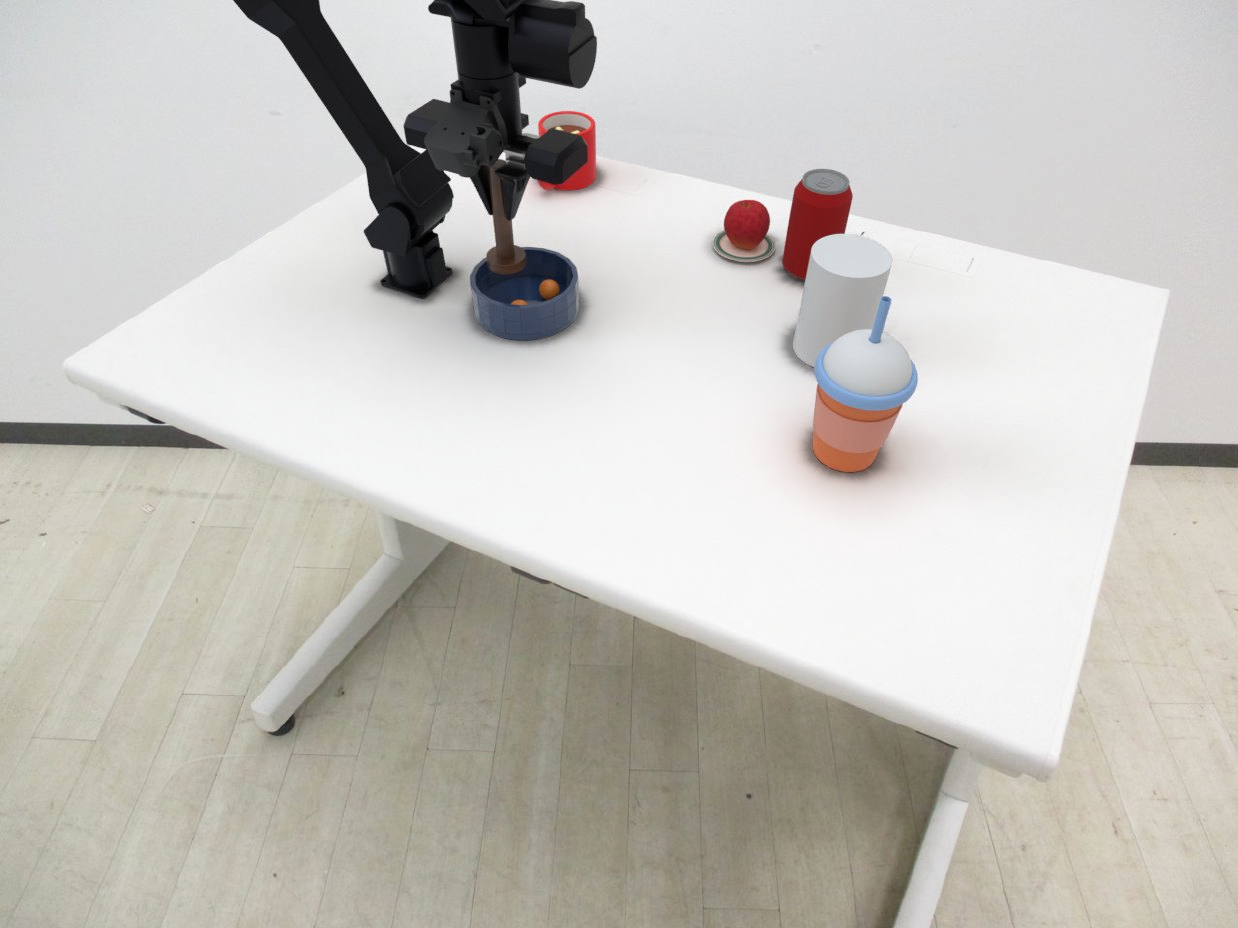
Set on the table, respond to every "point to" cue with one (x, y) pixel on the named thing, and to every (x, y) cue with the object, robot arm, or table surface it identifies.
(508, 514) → the table surface
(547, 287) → the bead
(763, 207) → the apple
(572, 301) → the bowl
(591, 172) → the mug
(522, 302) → the bead
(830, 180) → the beverage can
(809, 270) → the grey cylinder
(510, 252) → the muddler
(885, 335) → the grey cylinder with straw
